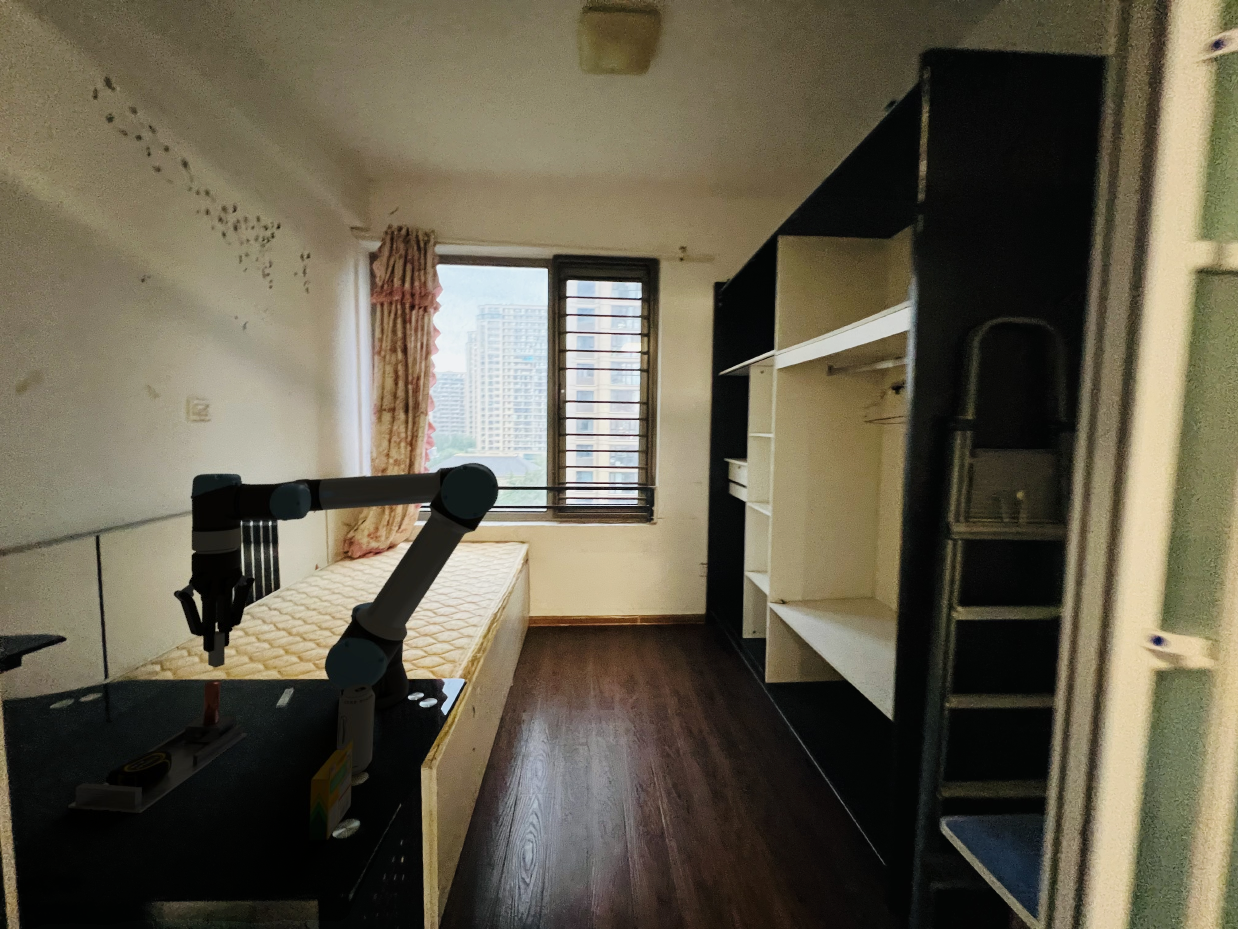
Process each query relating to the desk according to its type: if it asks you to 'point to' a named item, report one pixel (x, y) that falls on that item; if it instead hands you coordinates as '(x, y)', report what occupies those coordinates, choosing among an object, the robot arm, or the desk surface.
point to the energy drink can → (357, 724)
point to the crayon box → (330, 794)
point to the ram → (210, 718)
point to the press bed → (184, 765)
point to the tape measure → (141, 770)
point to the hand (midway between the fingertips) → (216, 664)
